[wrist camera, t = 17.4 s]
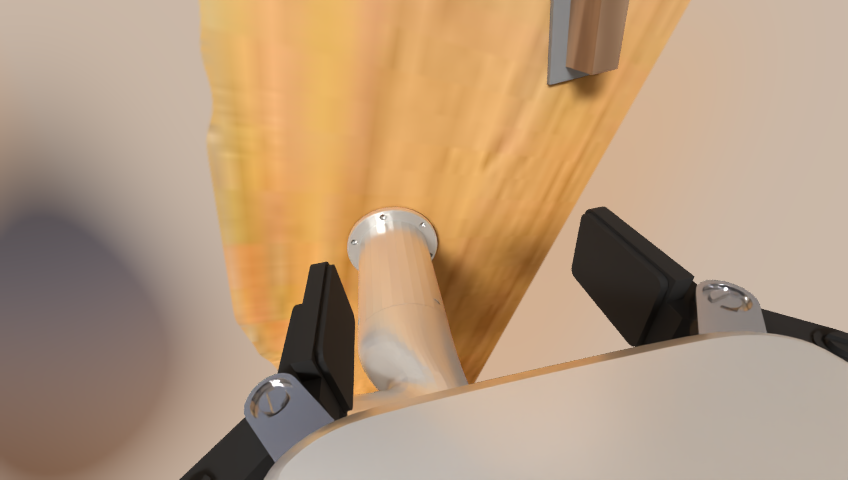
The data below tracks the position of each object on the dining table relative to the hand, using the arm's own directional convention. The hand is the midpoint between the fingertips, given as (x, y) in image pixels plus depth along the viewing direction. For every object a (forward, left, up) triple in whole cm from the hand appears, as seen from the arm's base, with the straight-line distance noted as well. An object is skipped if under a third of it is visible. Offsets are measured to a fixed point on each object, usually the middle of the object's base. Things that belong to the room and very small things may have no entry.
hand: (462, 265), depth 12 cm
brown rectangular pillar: (+4, -20, -27) cm, 34 cm away
